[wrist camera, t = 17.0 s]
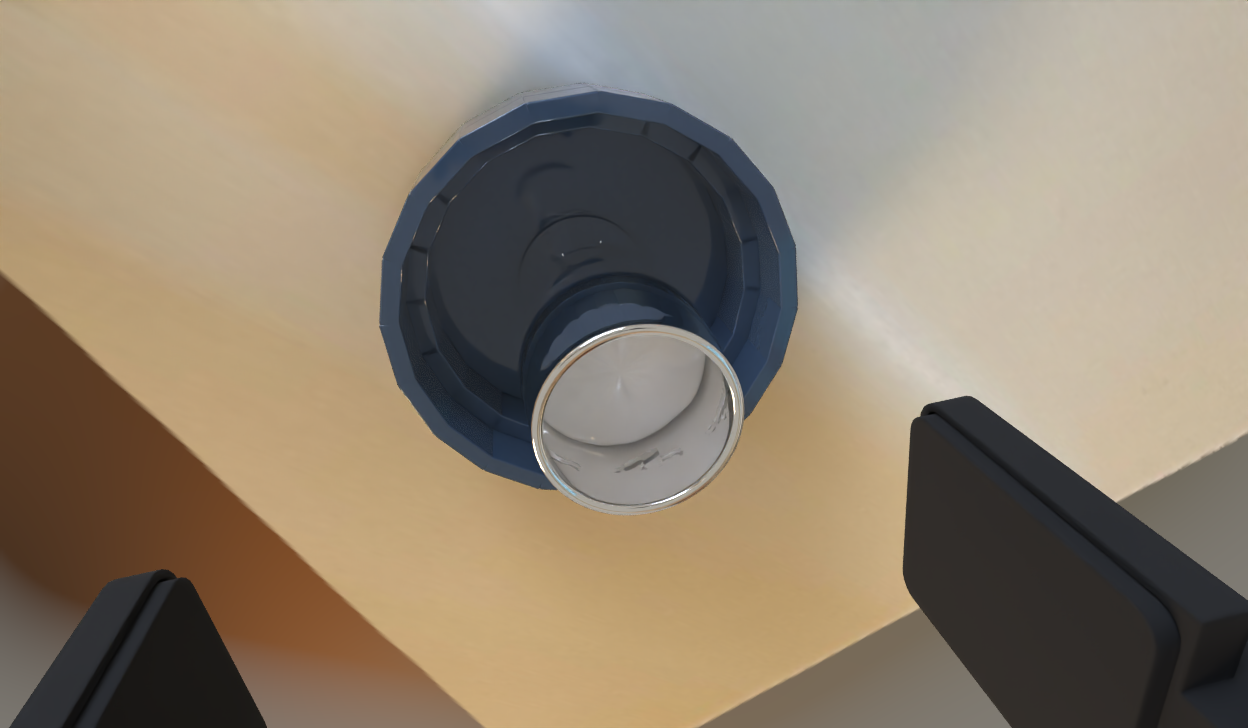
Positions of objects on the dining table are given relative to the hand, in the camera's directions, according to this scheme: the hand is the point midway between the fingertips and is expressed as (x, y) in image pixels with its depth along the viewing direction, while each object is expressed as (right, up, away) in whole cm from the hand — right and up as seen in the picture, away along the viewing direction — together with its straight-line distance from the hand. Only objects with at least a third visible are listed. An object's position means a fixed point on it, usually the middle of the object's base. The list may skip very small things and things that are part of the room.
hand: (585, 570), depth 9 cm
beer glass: (-2, +7, +26) cm, 27 cm away
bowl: (-2, +7, +26) cm, 27 cm away
